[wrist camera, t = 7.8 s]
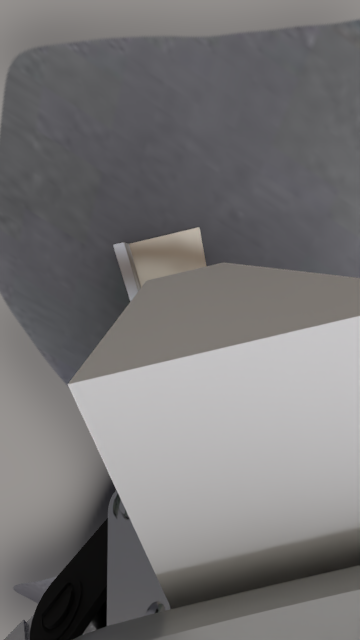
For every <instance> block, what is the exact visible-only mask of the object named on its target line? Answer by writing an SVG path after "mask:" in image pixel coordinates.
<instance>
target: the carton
mask: <svg viewBox="0 0 360 640" xmlns="http://www.w3.org/2000/svg"><path fill="white" fill-rule="evenodd" d="M68 386H69V388H70V390H71V393H72V395H73V397H74V399H75V401H76V403H77V406H78V408H79V410H80V412H81V414H82V416H83V419H84V421H85V423H86V425H87V427H88V429H89V432H90V434H91V436H92V438H93V440H94V442H95V444H96V447H97V449H98V451H99V453H100V455H101V457H102V460H103V462H104V464H105V466H106V468H107V470H108V473H109V475H110V477H111V479H112V481H113V483H114V486H115V488H116V490H117V492H118V494H119V496H120V499H121V501H122V503H123V505H124V507H125V509H126V512H127V514H128V516H129V518H130V520H131V522H132V525H133V527H134V529H135V531H136V533H137V535H138V538H139V540H140V542H141V544H142V546H143V548H144V550H145V553H146V555H147V557H148V559H149V561H150V563H151V566H152V568H153V570H154V572H155V574H156V576H157V579H158V581H159V583H160V585H161V587H162V589H163V592H164V594H165V596H166V598H167V600H168V602H169V605H170V607H171V609H174V608H179V607H183V606H187V605H191V604H195V603H199V602H204V601H208V600H212V599H216V598H220V597H225V596H229V595H233V594H237V593H241V592H246V591H250V590H254V589H258V588H263V587H267V586H271V585H276V584H280V583H284V582H289V581H293V580H297V579H302V578H306V577H310V576H315V575H319V574H323V573H328V572H332V571H336V570H341V569H345V568H349V567H354V566H358V565H360V278H354V277H345V276H336V275H328V274H319V273H310V272H302V271H293V270H284V269H276V268H267V267H258V266H249V265H241V264H232V263H219V264H215V265H211V266H206V267H202V268H198V269H194V270H189V271H185V272H181V273H177V274H173V275H168V276H164V277H160V278H156V279H151V280H147V281H146V282H145V284H144V285H143V286H142V287H141V289H140V290H139V291H138V293H137V294H136V295H135V297H134V298H133V299H132V301H131V302H130V303H129V305H128V306H127V307H126V308H125V310H124V311H123V312H122V314H121V315H120V316H119V318H118V319H117V320H116V322H115V323H114V324H113V326H112V327H111V328H110V329H109V331H108V332H107V333H106V335H105V336H104V337H103V339H102V340H101V341H100V343H99V344H98V345H97V347H96V348H95V349H94V351H93V352H92V353H91V354H90V356H89V357H88V358H87V360H86V361H85V362H84V364H83V365H82V366H81V368H80V369H79V370H78V372H77V373H76V374H75V375H74V377H73V378H72V379H71V381H70V382H69V383H68Z"/></svg>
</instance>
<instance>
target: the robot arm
mask: <svg viewBox="0 0 360 640" xmlns="http://www.w3.org/2000/svg"><path fill="white" fill-rule="evenodd" d="M4 640H360V565H358V566H354V567H349V568H345V569H341V570H336V571H332V572H328V573H323V574H319V575H315V576H310V577H306V578H302V579H297V580H293V581H289V582H284V583H280V584H276V585H271V586H267V587H263V588H258V589H254V590H250V591H246V592H241V593H237V594H233V595H229V596H225V597H220V598H216V599H212V600H208V601H204V602H199V603H195V604H191V605H187V606H183V607H179V608H174V609H171V607H170V605H169V602H168V600H167V598H166V596H165V594H164V592H163V589H162V587H161V585H160V583H159V581H158V579H157V576H156V574H155V572H154V570H153V568H152V566H151V563H150V561H149V559H148V557H147V555H146V553H145V550H144V548H143V546H142V544H141V542H140V540H139V538H138V535H137V533H136V531H135V529H134V527H133V525H132V522H131V520H130V518H129V516H128V514H127V512H126V509H125V507H124V505H123V503H122V501H121V499H120V496H119V494H118V492H117V490H116V491H115V493H114V494H113V496H112V498H111V500H110V503H109V509H108V518H107V520H106V521H105V522H104V523H103V524H102V525H101V526H100V528H99V529H98V530H97V531H96V532H95V533H94V535H93V536H92V537H91V538H90V539H89V540H88V542H87V543H86V544H85V545H84V546H83V547H82V549H81V550H80V551H79V552H78V553H77V555H76V556H75V557H74V558H73V559H72V560H71V561H70V563H69V564H68V565H67V566H66V567H65V568H64V570H63V571H62V572H61V573H60V574H59V575H58V576H57V578H56V579H55V580H54V581H53V582H52V583H51V585H50V586H49V588H48V589H47V590H46V592H45V593H44V595H43V596H42V598H41V600H40V602H39V604H38V606H37V608H36V611H35V614H34V615H33V616H32V617H31V618H30V619H29V620H28V621H27V622H25V620H23V621H22V622H21V623H20V624H19V625H18V626H17V627H16V628H15V629H14V630H13V631H12V632H11V633H10V634H9V635H8V636H7V637H6V638H5V639H4Z"/></svg>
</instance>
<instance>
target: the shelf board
mask: <svg viewBox="0 0 360 640" xmlns="http://www.w3.org/2000/svg"><path fill="white" fill-rule="evenodd" d="M113 247H114V250H115V253H116V256H117V260H118V263H119V266H120V269H121V273H122V276H123V279H124V282H125V286H126V289H127V292H128V295H129V299H130V302H131V301H132V299H133V298H134V297H135V295H136V294H137V293H138V291H139V290H140V289H141V287H142V286H143V285H144V284H145V282H146V281H147V280H151V279H156V278H160V277H164V276H168V275H173V274H177V273H181V272H185V271H189V270H194V269H198V268H202V267H206V261H205V256H204V250H203V245H202V239H201V234H200V228H199V227H198V228H194V229H190V230H186V231H181V232H177V233H173V234H169V235H165V236H160V237H156V238H152V239H148V240H144V241H139V242H135V243H131V244H128V243H125V242H123V243H119V244H114V245H113Z"/></svg>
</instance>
